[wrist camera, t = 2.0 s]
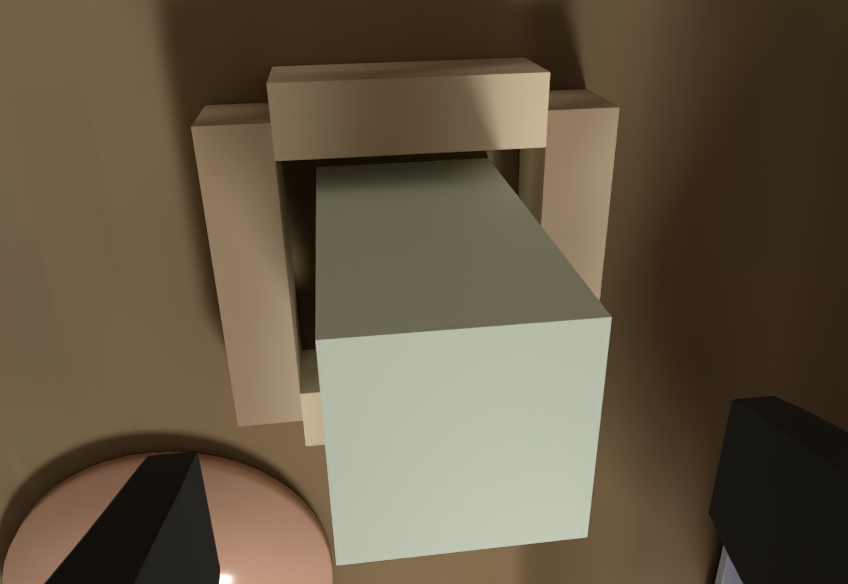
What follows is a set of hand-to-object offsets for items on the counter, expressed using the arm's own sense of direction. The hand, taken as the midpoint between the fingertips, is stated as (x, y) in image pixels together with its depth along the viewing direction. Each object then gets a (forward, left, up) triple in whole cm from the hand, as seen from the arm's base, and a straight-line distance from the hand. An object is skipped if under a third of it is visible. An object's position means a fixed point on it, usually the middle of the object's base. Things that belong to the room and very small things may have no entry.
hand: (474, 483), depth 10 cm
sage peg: (0, 0, -9) cm, 9 cm away
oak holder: (0, 0, -9) cm, 9 cm away
